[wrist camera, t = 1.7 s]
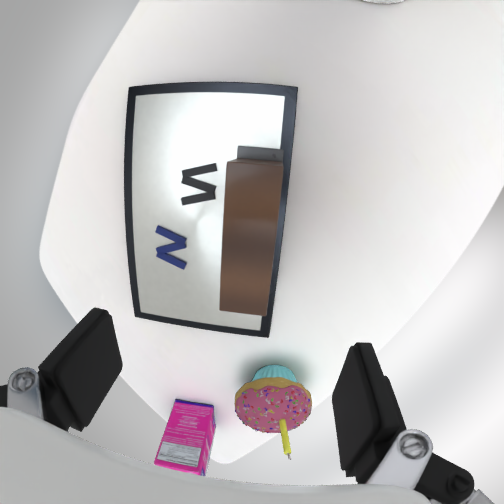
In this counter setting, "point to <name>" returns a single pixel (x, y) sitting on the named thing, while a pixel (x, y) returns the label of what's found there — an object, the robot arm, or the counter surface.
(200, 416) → the supplement box
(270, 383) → the cupcake
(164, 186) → the whiteboard
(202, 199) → the scribble
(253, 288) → the eraser
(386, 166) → the counter surface
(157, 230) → the scribble
